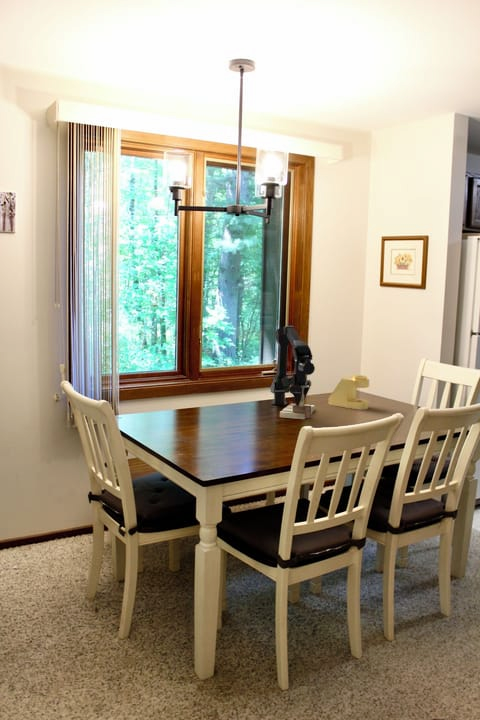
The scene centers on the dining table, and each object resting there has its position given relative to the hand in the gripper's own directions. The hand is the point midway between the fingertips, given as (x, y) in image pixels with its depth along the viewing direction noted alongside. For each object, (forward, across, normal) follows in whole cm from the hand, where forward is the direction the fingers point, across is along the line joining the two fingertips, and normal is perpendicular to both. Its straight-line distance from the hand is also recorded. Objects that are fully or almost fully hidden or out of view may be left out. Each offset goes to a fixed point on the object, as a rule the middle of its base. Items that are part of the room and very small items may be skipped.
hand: (300, 403), depth 313 cm
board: (+6, -7, -3) cm, 10 cm away
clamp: (+7, -33, +18) cm, 38 cm away
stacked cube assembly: (+6, 0, +1) cm, 6 cm away
